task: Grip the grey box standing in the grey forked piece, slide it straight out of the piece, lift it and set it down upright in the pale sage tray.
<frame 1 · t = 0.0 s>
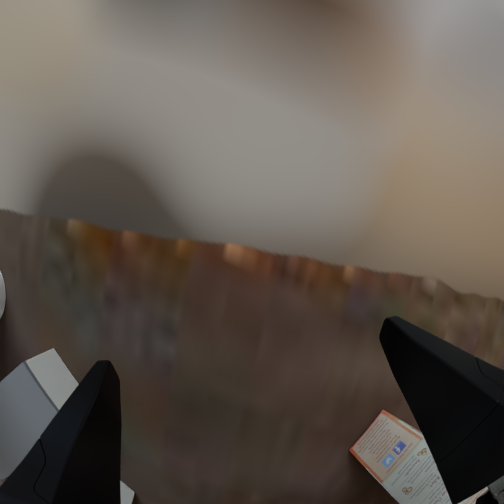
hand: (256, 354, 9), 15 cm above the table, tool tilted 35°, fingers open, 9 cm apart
cracker box: (397, 448, 25), on the table
grey forked piece: (88, 493, 19), on the table
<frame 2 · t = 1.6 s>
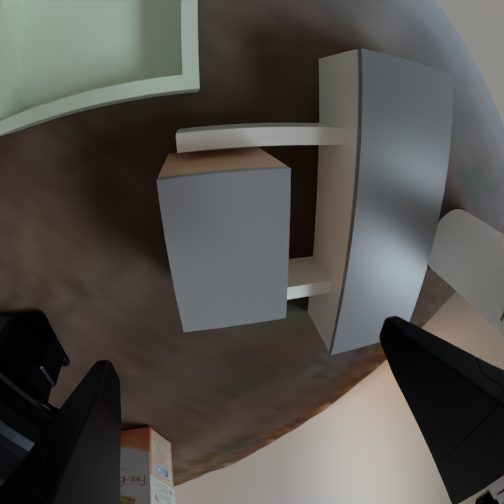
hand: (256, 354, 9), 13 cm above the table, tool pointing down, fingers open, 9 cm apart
tray: (95, 18, 12), on the table
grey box: (216, 208, 20), on the table
cracker box: (118, 438, 31), on the table
grey forked piece: (216, 208, 19), on the table
cylindrical container: (449, 240, 26), on the table
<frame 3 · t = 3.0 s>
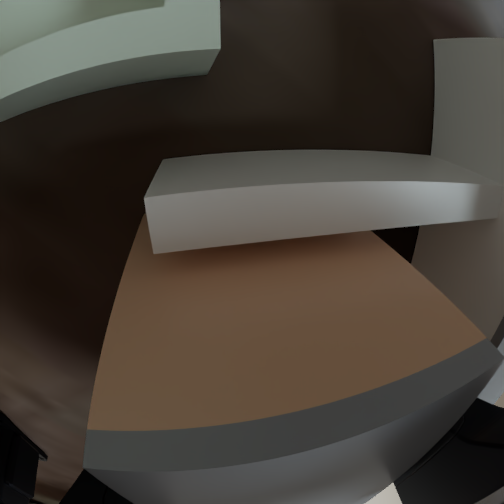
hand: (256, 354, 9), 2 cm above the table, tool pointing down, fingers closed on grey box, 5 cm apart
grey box: (244, 312, 10), on the table, touching gripper
grey forked piece: (244, 313, 10), on the table
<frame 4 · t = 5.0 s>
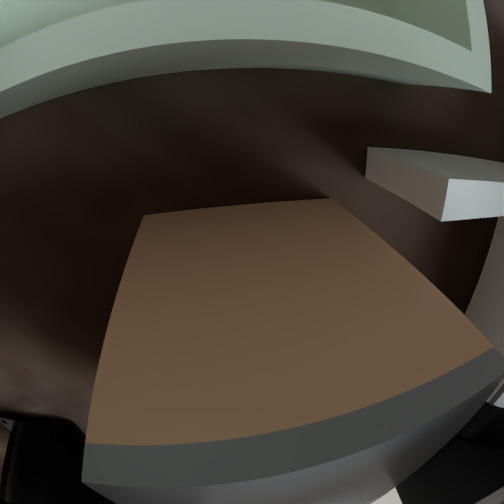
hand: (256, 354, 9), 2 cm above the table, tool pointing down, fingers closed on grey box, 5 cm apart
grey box: (245, 315, 10), on the table, touching gripper
grey forked piece: (390, 286, 11), on the table
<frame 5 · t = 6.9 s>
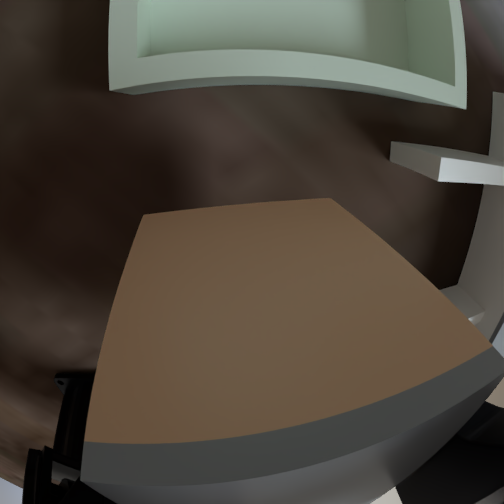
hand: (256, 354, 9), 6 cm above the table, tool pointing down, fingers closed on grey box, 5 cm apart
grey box: (245, 314, 10), point 4 cm above the table, touching gripper
grey forked piece: (405, 240, 15), on the table
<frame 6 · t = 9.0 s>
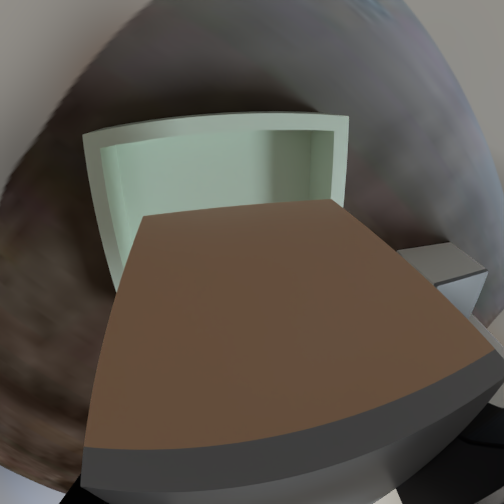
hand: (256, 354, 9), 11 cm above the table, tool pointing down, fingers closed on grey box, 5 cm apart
tray: (219, 217, 18), on the table
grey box: (245, 316, 10), point 9 cm above the table, touching gripper
grey forked piece: (308, 354, 26), on the table
cylindrical container: (455, 333, 32), on the table
when the fingers open (5 cm above the table, at t = 10.8 s): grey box drops 2 cm, resting on tray.
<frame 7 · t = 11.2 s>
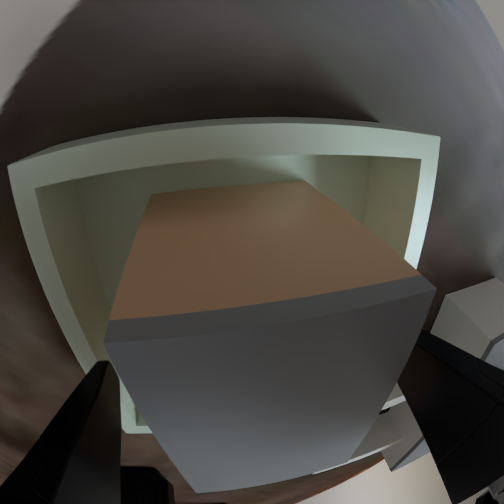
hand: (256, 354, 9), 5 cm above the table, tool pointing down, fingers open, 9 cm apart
tray: (233, 273, 13), on the table
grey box: (235, 282, 12), point 1 cm above the table, touching tray
grey forked piece: (333, 409, 20), on the table
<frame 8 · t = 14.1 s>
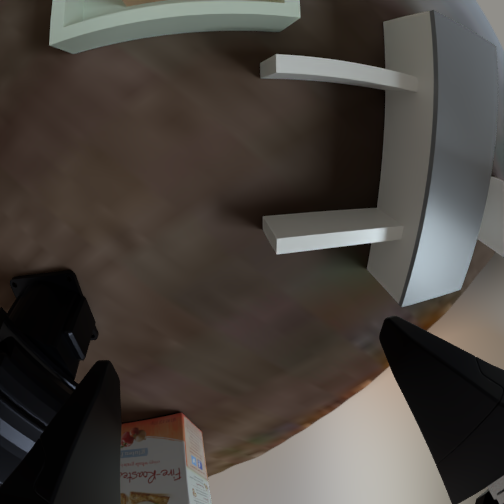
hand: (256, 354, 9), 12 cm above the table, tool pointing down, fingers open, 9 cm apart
cracker box: (141, 428, 30), on the table
grey forked piece: (292, 148, 18), on the table
cylindrical container: (485, 207, 24), on the table
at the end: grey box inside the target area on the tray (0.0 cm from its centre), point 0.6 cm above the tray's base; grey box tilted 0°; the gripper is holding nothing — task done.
